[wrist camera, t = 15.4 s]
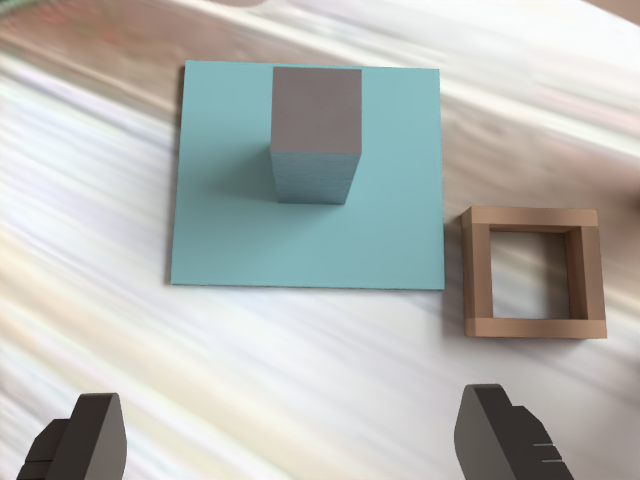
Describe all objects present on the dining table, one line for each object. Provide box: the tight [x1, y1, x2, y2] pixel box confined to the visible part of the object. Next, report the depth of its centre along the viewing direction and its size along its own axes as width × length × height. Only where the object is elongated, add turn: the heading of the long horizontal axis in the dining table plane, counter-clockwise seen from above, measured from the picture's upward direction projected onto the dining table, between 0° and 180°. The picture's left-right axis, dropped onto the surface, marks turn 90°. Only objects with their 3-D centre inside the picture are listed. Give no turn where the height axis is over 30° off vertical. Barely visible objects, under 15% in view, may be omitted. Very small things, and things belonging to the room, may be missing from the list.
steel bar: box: [270, 66, 362, 205], centre depth 28 cm, size 4×4×9 cm
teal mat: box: [170, 60, 445, 290], centre depth 33 cm, size 16×14×1 cm
